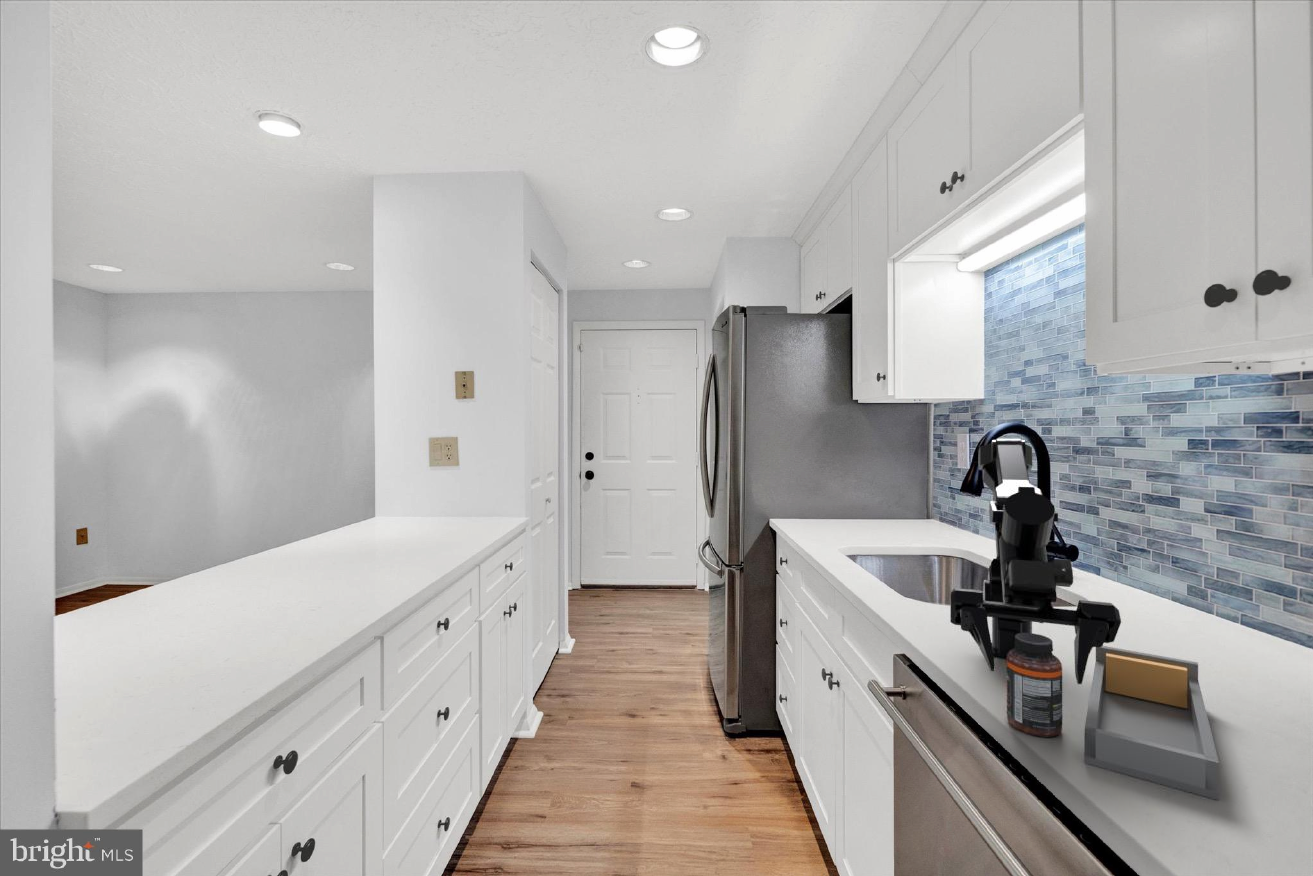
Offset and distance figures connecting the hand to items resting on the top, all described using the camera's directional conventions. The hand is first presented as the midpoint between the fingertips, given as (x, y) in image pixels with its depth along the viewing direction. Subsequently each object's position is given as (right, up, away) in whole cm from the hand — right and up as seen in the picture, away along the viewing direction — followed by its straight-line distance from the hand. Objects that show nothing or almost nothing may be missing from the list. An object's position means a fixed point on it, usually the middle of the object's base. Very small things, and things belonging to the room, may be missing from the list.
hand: (1035, 676), depth 74 cm
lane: (+14, -7, 0) cm, 15 cm away
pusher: (+20, -5, +7) cm, 22 cm away
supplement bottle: (+1, -7, +1) cm, 7 cm away
